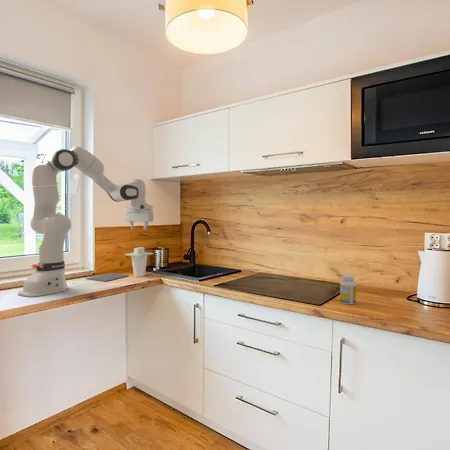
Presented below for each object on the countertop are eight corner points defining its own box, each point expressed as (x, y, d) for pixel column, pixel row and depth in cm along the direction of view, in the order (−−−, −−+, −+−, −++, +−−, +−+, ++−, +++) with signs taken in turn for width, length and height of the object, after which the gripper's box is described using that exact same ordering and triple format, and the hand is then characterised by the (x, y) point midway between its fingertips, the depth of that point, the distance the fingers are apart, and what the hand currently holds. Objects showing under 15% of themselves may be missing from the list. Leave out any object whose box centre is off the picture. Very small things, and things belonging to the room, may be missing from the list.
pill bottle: (354, 301, 148) (355, 275, 148) (356, 305, 142) (357, 277, 142) (339, 300, 150) (339, 274, 150) (340, 304, 144) (340, 277, 143)
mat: (105, 281, 190) (105, 280, 190) (86, 279, 197) (86, 278, 197) (128, 276, 205) (128, 275, 205) (109, 273, 213) (109, 273, 213)
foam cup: (130, 275, 209) (130, 254, 208) (145, 273, 213) (145, 253, 212) (133, 277, 200) (132, 256, 200) (148, 276, 204) (148, 255, 204)
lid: (140, 256, 198) (139, 249, 198) (124, 255, 204) (124, 248, 203) (153, 254, 209) (153, 247, 208) (138, 253, 214) (138, 246, 214)
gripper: (122, 206, 207) (122, 228, 207) (147, 206, 197) (148, 229, 198) (129, 206, 212) (129, 228, 213) (154, 206, 203) (155, 229, 203)
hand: (138, 229), depth 205 cm, fingers open, 8 cm apart
